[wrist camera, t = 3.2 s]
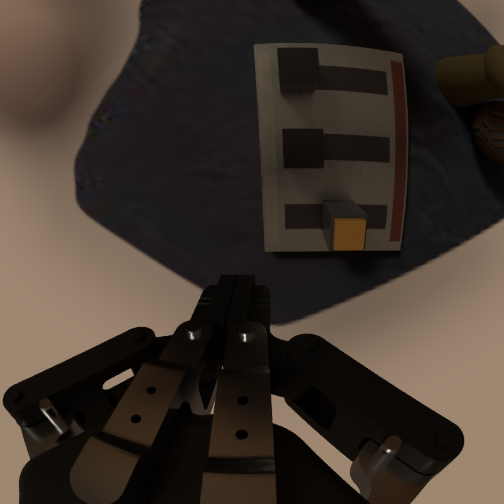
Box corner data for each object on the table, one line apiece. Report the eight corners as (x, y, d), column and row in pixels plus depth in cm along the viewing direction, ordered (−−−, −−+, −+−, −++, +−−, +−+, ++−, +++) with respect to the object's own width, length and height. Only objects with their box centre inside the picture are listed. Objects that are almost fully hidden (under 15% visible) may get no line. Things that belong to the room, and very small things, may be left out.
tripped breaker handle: (354, 201, 24) (369, 217, 20) (352, 232, 25) (366, 253, 21) (322, 201, 25) (331, 216, 20) (322, 232, 26) (330, 254, 21)
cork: (480, 107, 20) (545, 108, 10) (444, 108, 21) (510, 106, 11) (466, 58, 18) (526, 43, 8) (428, 56, 19) (487, 32, 9)
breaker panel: (394, 58, 20) (421, 42, 14) (393, 243, 28) (416, 269, 22) (255, 50, 22) (247, 27, 16) (266, 244, 29) (261, 272, 23)
